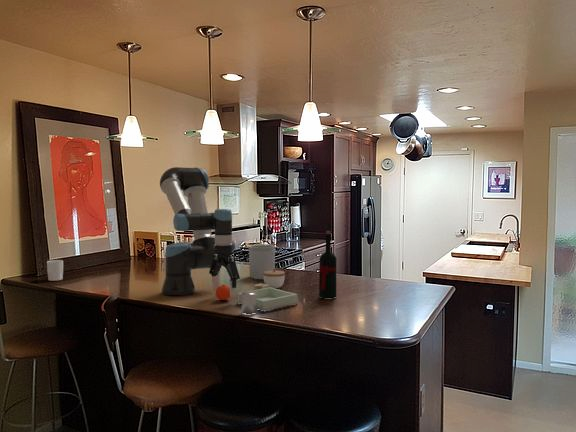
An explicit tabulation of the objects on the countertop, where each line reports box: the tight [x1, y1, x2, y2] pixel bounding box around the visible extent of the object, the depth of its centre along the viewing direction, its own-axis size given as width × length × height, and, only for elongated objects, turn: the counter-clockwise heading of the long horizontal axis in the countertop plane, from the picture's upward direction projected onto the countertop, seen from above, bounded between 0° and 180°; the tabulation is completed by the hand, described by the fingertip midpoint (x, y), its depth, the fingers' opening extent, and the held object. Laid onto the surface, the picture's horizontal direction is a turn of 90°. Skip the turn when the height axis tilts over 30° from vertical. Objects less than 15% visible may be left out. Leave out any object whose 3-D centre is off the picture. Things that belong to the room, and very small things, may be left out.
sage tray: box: [237, 287, 298, 310], centre depth 192 cm, size 18×18×4 cm
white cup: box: [46, 259, 64, 282], centre depth 242 cm, size 8×8×10 cm
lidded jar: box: [263, 268, 286, 289], centre depth 224 cm, size 11×11×9 cm
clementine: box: [215, 284, 232, 301], centre depth 199 cm, size 8×7×7 cm
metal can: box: [241, 291, 258, 314], centre depth 178 cm, size 6×6×8 cm
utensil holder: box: [247, 243, 276, 280], centre depth 251 cm, size 15×15×18 cm
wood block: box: [253, 283, 269, 290], centre depth 208 cm, size 5×5×5 cm
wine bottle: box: [318, 230, 337, 298], centre depth 202 cm, size 8×10×30 cm
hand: (224, 292), depth 198 cm, fingers open, 13 cm apart
